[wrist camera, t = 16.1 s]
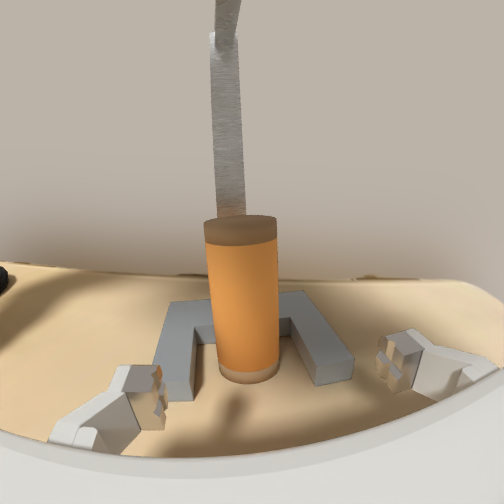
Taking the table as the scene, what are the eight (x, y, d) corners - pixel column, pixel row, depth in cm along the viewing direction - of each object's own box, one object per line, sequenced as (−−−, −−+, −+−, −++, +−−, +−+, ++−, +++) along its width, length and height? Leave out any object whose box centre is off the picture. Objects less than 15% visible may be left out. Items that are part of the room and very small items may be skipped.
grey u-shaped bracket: (153, 401, 19) (147, 381, 18) (173, 317, 32) (170, 302, 32) (351, 378, 20) (354, 358, 20) (303, 306, 34) (303, 290, 33)
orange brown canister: (219, 386, 21) (201, 229, 18) (218, 351, 26) (205, 218, 22) (284, 379, 21) (283, 223, 18) (273, 346, 26) (269, 213, 23)
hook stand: (230, 366, 23) (210, -46, 14) (224, 301, 36) (209, 19, 27) (266, 362, 24) (245, -47, 14) (248, 299, 37) (234, 19, 27)
